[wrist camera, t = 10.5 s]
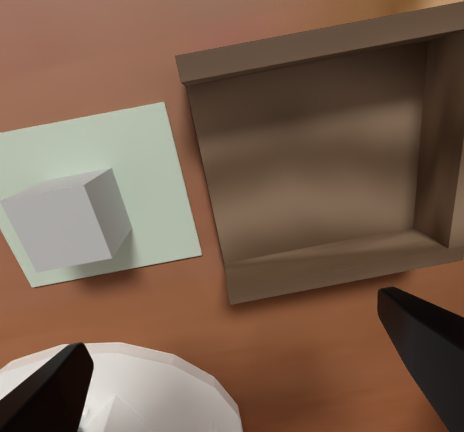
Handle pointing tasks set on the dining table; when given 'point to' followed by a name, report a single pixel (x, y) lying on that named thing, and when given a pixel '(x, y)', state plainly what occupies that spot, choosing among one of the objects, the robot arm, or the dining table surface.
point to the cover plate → (134, 172)
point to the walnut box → (334, 150)
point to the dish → (140, 391)
